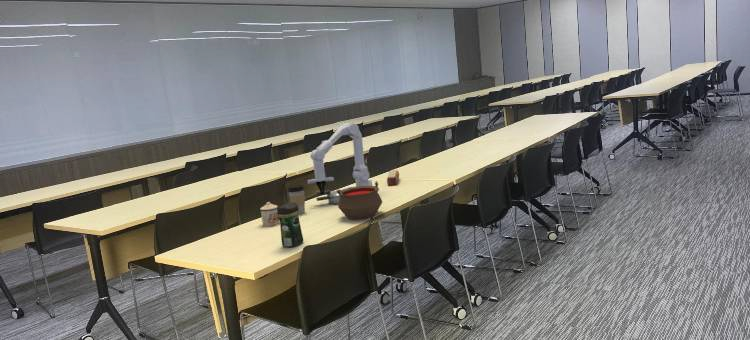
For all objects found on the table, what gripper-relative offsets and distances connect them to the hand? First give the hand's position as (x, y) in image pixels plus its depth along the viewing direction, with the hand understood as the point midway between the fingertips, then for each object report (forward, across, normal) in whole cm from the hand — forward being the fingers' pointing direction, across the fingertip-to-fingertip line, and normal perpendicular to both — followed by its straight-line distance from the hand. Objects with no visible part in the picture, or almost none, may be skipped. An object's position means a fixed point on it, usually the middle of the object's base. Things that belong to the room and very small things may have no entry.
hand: (322, 194), depth 325 cm
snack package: (+7, -44, -42) cm, 61 cm away
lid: (+2, -6, -4) cm, 7 cm away
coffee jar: (+6, +12, +71) cm, 73 cm away
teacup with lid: (+6, +26, +28) cm, 39 cm away
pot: (+6, -7, -4) cm, 10 cm away
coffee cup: (+6, +13, +12) cm, 19 cm away
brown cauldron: (+7, -20, +36) cm, 41 cm away
